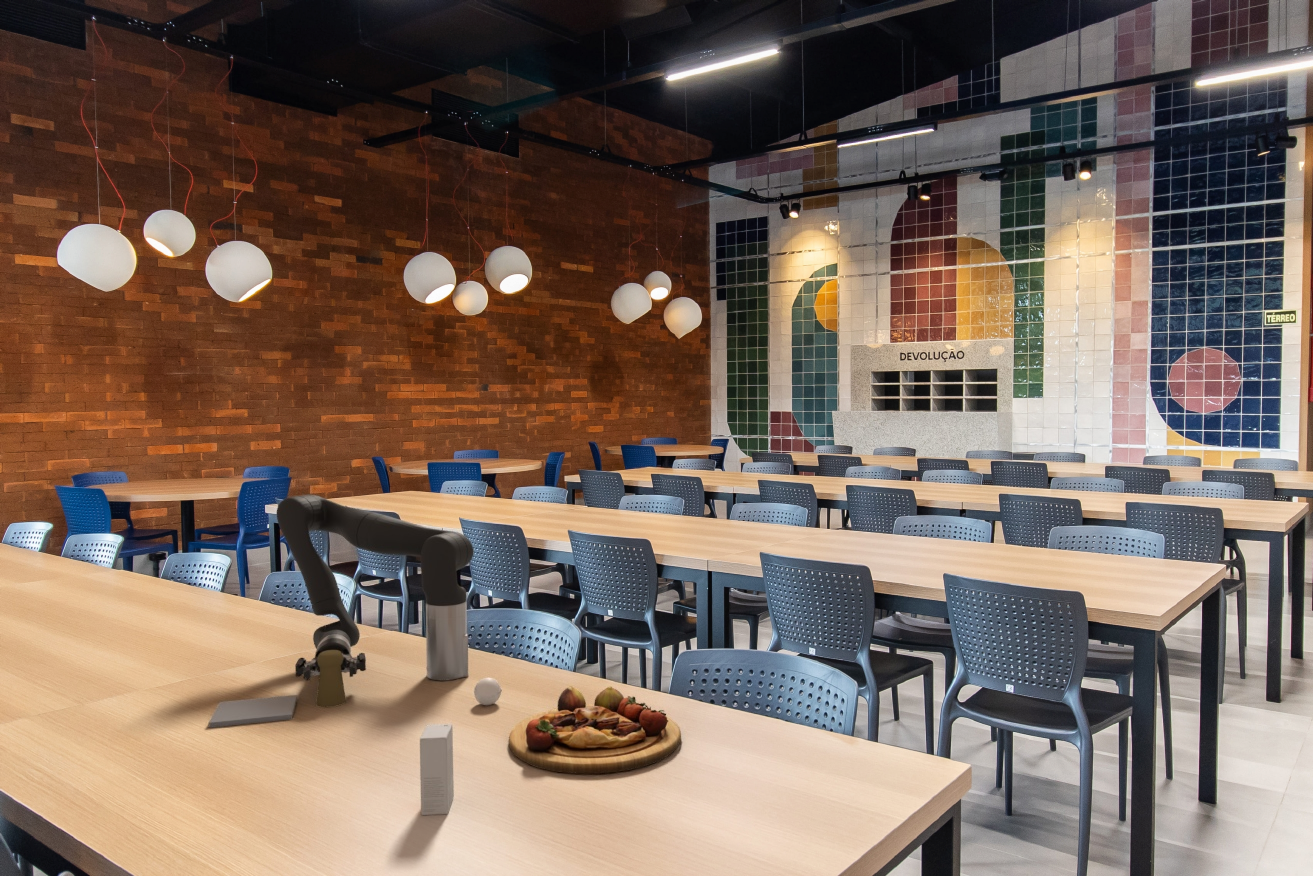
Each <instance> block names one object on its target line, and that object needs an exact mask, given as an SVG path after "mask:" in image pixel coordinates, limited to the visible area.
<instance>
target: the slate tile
mask: <svg viewBox="0 0 1313 876" xmlns="http://www.w3.org/2000/svg"><path fill="white" fill-rule="evenodd" d="M297 701H298V695H297V694H292V695H291V694H289V695H281V696H269V697H260V698H250V699H238V700H230V701H229V700H226V701H220V702H219V703H218V705H217V706H216V709H215V710H214V712H213V714H212V715H211V718H210V720H209V722H208V728H218V727H219V728H220V727H231V726H242V725H250V724H258V723H259V724H260V723H268V722H279V721H287V720H288V721H289V720H292V719H293V717H294V712H295V709H296V705H297Z"/></svg>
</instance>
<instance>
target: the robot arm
mask: <svg viewBox="0 0 1313 876" xmlns="http://www.w3.org/2000/svg"><path fill="white" fill-rule="evenodd" d="M276 519H277V523H278V526H279V528H280V531H281V533H282V534H283V537H284V539H285V541H286V544H287V545H288V548H289V550H290V552H291V554H292V555H293V558H294V560H295V562H296V564H297V566H298V568H299V572H300V573H301V576H302V578H303V582H304V584H305V588H306V590H307V595H308V598H309V602H310V605H311V608H312V611H313V614H314V615H315V616H316V617H317V616H330V615H333V616H335V617H337V619H339V620H338V621H334V622H330V623H328V624H325V625H322V626H319V627H318V628H316V629H315V630H314V632H313V636H312V637H313V638H312V639H313V646H314V647H315V649H316V652H315V655H314V657H313V658H311V660H307V659H305V657H300V658H297V661H296V663H295V664H294V665H295V677H298V678H299V677H301V676H302V679H303V680H305V679H306V681H311V678H312V676H319V673H320V667H319V666H318V663H317V658H318V655H319V654H320V653H321V652H323V651H327V650H338V651H341V653H342V654H343V662H342V664H341V671H342V673H345V674H347V673H349V678H352V677H354V675H356V674H357V673H358V670H359V671H361V672H366V670H367V666H366V663H367V662H366V661H367V657H366V654H365V652H359V653H358V654H357V655H356V656H354V657H353V656H352V647H354V646H356V645H357V644H358V643H359V640H360V634H361V633H360V630H359V628H358V625H357V624H356V623H355V621H354V619H353V618H352V616H351V615H350V613H349V612H348V610H347V609H346V606H345V604H344V602H343V599H342V596H341V593H340V589H339V586H338V582H337V579H336V577H335V574H334V572H333V571H332V569H331V568H330V567H329V565H328V564H327V563H326V562H325V561H324V559H323V558H322V557H321V556H320V554H319V552H318V551H317V550H316V548H315V546H314V545H313V541H312V540H311V536H310V532H315V531H321V532H329V533H332V534H336V535H339V536H341V537H343V538H344V539H345V541H347V542H348V543H349V544H350V545H352V546H354V547H355V548H358V549H361V550H364V551H367V552H371V553H375V554H380V555H387V556H390V555H392V556H411V557H419V558H420V572H421V573H420V575H421V586H422V591H423V593H424V596H425V622H426V623H425V624H426V625H425V627H426V628H425V629H426V631H425V632H426V633H425V635H426V636H425V638H426V641H425V642H426V646H425V647H426V678H427V679H430V680H435V681H452V680H457V679H461V678H464V677H469V636H468V625H467V624H468V623H467V621H468V620H467V619H468V617H467V616H468V615H467V612H468V611H467V608H468V607H467V604H468V603H467V590H466V588H464V587H463V586H460V585H459V584H458V575H457V571H458V570H461V569H463V568H465V567H466V566H467V565H468V564H470V562H471V561H472V559H473V557H474V553H475V552H474V546H473V544H472V542H471V541H470V539H469V538H468V537H467V536H466V535H465V534H462V533H460V532H458V531H453V530H452V531H451V530H443V529H436V528H430V527H426V526H421V525H418V524H415V523H412V522H410V521H406V520H402V519H399V518H395V517H392V516H390V515H385V514H383V513H382V514H381V513H379V512H378V513H377V512H374V511H370V510H364V509H360V508H355V507H350V506H347V505H346V506H345V505H343V504H340V503H337V502H334V501H332V500H329V499H327V498H325V497H322V496H319V495H315V494H301V495H294V496H289V497H285V498H284V499H282V500H281V501H280V502H279V504H278V505H277V508H276Z"/></svg>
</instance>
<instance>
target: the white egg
mask: <svg viewBox="0 0 1313 876" xmlns="http://www.w3.org/2000/svg"><path fill="white" fill-rule="evenodd" d="M473 693H474V699H476V701H477V702H478V703H479V704H481V705H483V706H491V705H493V704H495V703H497V701H499V699H500V697H501V694H502V687H501V685H500V683H499V682H498V680H497V679H495V678H492V677H484V678H482V679H480V680H479V681H478V682H476V685H475V686H474V690H473Z"/></svg>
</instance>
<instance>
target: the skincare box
mask: <svg viewBox="0 0 1313 876" xmlns="http://www.w3.org/2000/svg"><path fill="white" fill-rule="evenodd" d="M453 732H454V731H453V724H452V723H445V724H444V723H442V724H439V723H438V724H427V725H426V724H425V727H424V729H423V732H422V733H421V736H420V738H419V765H420V767H419V768H420V769H419V770H420V771H419V774H420V775H419V777H420V813H421V814H420V815H422V816H433V815H435V816H437V815H448V814H449V811H450V809H451V806H452V803H453V801H454V797H455V796H454V795H455V794H454V793H455V792H454V791H455V790H454V787H455V786H454V785H455V784H454V748H453V747H454V746H453V745H454V738H453Z"/></svg>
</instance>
